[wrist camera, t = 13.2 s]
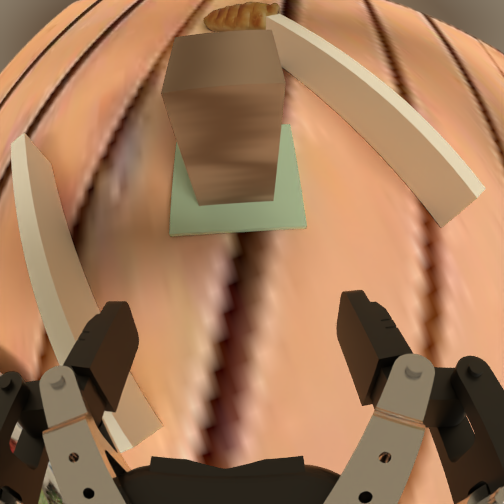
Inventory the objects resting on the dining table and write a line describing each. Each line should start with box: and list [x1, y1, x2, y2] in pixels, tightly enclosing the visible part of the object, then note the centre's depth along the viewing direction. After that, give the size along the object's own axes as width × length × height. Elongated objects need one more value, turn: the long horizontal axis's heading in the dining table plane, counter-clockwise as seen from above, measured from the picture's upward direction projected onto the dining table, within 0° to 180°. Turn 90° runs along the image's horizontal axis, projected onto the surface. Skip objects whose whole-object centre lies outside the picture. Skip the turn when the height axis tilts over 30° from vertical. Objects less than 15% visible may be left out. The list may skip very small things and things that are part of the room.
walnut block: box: [161, 30, 286, 206], centre depth 16 cm, size 5×5×10 cm
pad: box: [169, 124, 307, 237], centre depth 21 cm, size 9×9×1 cm
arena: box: [11, 14, 486, 453], centre depth 19 cm, size 27×24×5 cm
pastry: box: [204, 2, 280, 32], centre depth 27 cm, size 9×7×4 cm
